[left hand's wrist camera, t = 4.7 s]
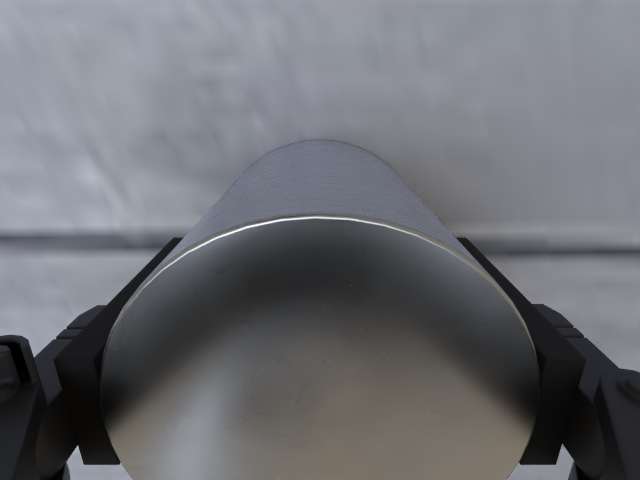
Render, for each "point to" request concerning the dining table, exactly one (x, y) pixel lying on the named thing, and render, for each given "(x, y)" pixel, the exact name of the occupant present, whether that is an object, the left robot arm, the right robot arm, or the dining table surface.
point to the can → (319, 339)
